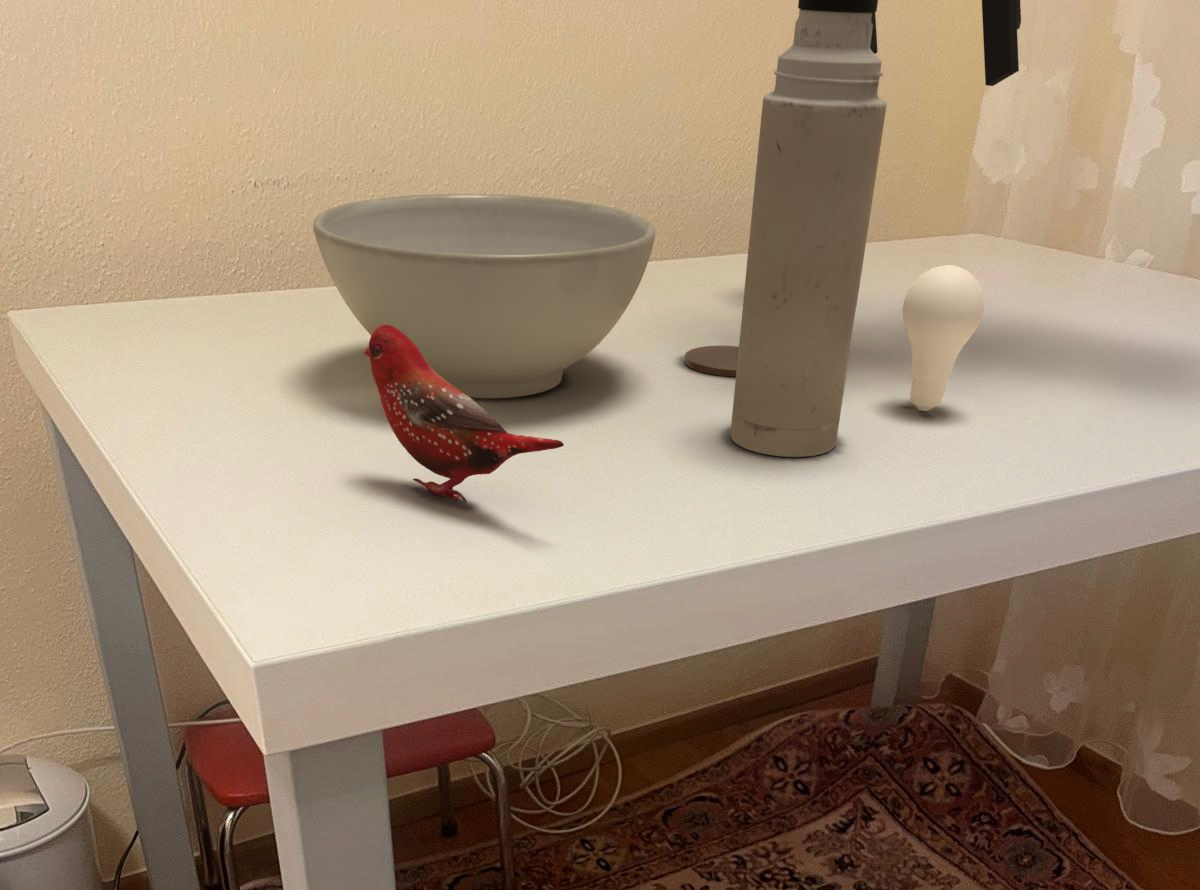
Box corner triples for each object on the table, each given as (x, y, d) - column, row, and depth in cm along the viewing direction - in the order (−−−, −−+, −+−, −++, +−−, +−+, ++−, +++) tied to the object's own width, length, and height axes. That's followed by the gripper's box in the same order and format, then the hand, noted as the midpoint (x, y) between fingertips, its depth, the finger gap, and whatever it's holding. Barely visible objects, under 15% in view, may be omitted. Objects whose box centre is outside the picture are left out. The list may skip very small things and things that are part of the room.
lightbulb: (900, 395, 101) (925, 254, 94) (971, 408, 98) (1001, 265, 92) (875, 412, 96) (899, 266, 90) (948, 427, 94) (979, 278, 88)
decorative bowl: (705, 373, 104) (717, 221, 97) (518, 452, 86) (517, 272, 79) (467, 321, 116) (463, 183, 109) (258, 381, 98) (237, 220, 91)
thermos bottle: (708, 434, 90) (747, -11, 74) (780, 416, 95) (832, -9, 79) (785, 465, 86) (844, -6, 69) (857, 444, 90) (929, -3, 74)
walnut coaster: (788, 362, 108) (789, 355, 108) (748, 382, 102) (749, 375, 102) (710, 347, 111) (711, 340, 111) (668, 365, 106) (668, 358, 105)
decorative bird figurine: (389, 464, 83) (379, 314, 77) (578, 537, 74) (582, 371, 68) (357, 475, 81) (343, 321, 75) (546, 550, 72) (547, 381, 66)
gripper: (1007, -184, 94) (1019, 104, 98) (743, -251, 84) (766, 75, 87) (1084, -249, 88) (1094, 63, 91) (806, -330, 77) (829, 26, 81)
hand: (934, 70), depth 89 cm, fingers open, 13 cm apart
